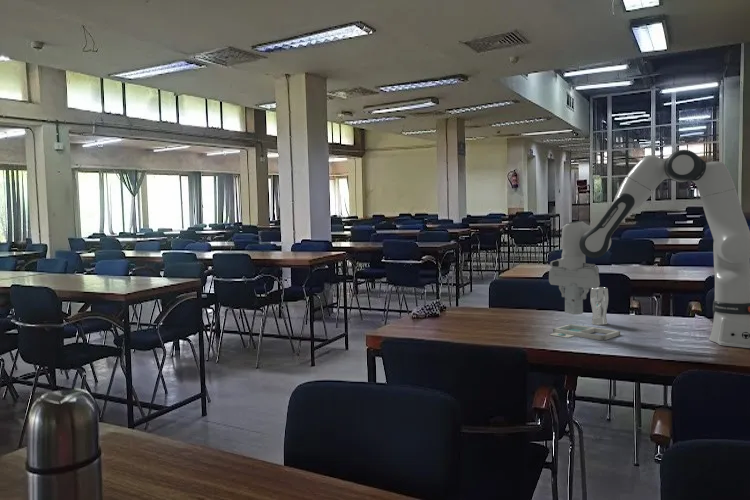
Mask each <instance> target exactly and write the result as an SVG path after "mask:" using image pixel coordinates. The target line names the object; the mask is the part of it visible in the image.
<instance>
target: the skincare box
mask: <svg viewBox="0 0 750 500" xmlns="http://www.w3.org/2000/svg"><path fill="white" fill-rule="evenodd" d="M564 290H565V297H564V313H566V314H570V315H581V314H583V313H584V299H581V294H583V292H584V290H583V287H577V284H576V283H570V285H569V286H565V288H564Z"/></svg>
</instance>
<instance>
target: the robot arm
mask: <svg viewBox="0 0 750 500" xmlns="http://www.w3.org/2000/svg"><path fill="white" fill-rule="evenodd" d="M622 180H623V181H622V182H621V183H620V185H619V187H618V189H617V192H616V194H615V196H614V199H613V201H612V204H610V207H609V208H608V210H607V211H606V212H605V214H604V215H603V216H602V218H601V219H600V220H599V222H598V223H597V225H595V226H594V227H593V226H592V225H589V224H587V223H585V222H584V221H583V220H576V221H570V222H567V223H565V224H564V225H563V226H562V229H561V246H562V252H561V258H557V259H556V260H552V261H550V262H549V264H550V265H549V266H550V268H549V271H548V283H549V284H550V285H551V286H558V290H559V291H560V293H561V298H565V286H569V285H570V283H576V284H577V287H583V294H581V299H583V300H586V299H587V295H588V293H589V292H590V289H591V288H598V287H600V285H601V283H600V282H601V281H600V274H599V273H600V271H599V270H600V267H598V265H596V264H595V263H586V258H591V259H597V258H601V257H603V256H604V255H605V254H606V252H608V251H609V249H610V248H611V246H612V242H613V241H612V236H613V234H614V232H615V231H617V229H618V228H619V227H620V224H621V223H622V222H623V220H625V219H626V217H627V216H628V215H629V214H631V213H632V212H634V211H635V210H636V209H638V208H640V207H641V206H642V205H643V204H645V202H646V201H647V200H649V198H650V197H651V196H652V194H654V192H655V190H656V189H657V188H658V186H660V184H661V183H662V182H663V181H665V180H668V181H673V182H677V183H685V182H689V181H690V182H693V183H694V184H695V186H696V188H697V189H698V194H699V197H700V201H701V204H702V207H703V208H702V209H703V211H704V215H705V219H706V221H707V224H708V226H709V230H710V233H711V236H712V239H713V244H712V245H713V246H712V247H713V250H712V251H713V271H714V273H713V274H714V299H713V302H712V316H713V322H712V329H711V332H710V335H709V338H708V340H709V341H711V342H714V343H717V345H720V346H725V347H734V348H744V349H750V227H749V226H748V225H749V224H748V223H747V220H746V217H745V215H744V211H743V209H742V206H741V202H740V199H739V195H738V191H737V189H736V185H735V182H734V180H733V177H732V175H731V172H730V171H729V169H728V167H727V165H726V164H725V163H724V162H721V161H709V162H706V161H705V160H703V159H702V158H701V157H700V156H699V155H698V154H696V153H695V152H694V151H691V150H689V149H680V150H676V151H674V152H673V153H671V154H670V155H669V157H667V158H661V157H659V156H656V155H653V154H649V155H648V154H647V155H645V156H643V157H642V158H641V159H640V160H639V161H638V162H637V163H636V164H635V165H634V166H633V167H632V168H631V170H630V171H629V172H628V173H627V174H626V176H625V178H624V179H622Z"/></svg>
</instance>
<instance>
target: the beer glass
mask: <svg viewBox="0 0 750 500" xmlns="http://www.w3.org/2000/svg"><path fill="white" fill-rule="evenodd" d="M589 295H590V305H591V311H592V320H591V324H592V325H595V326H608V320H607V310H608V305H609V289H608V287H604V286H599V287H598V288H590V294H589Z"/></svg>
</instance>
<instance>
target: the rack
mask: <svg viewBox="0 0 750 500" xmlns="http://www.w3.org/2000/svg"><path fill="white" fill-rule="evenodd" d="M594 333H595V334H594ZM596 333H599V334H596ZM549 336H553V337H559V338H567V339H570V338H573V337H578V338H585V339H591V340H592V339H593V340H599V341H606V340H609V339H612V338H615V337H618V336H621V330H617V329H616V330H614V329H608V328H603V327H602V328H600V327H592V326H586V325H580V324H572V323H570V324H566V325H561V326H558V327H554V328H552V333H550V334H549Z"/></svg>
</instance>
